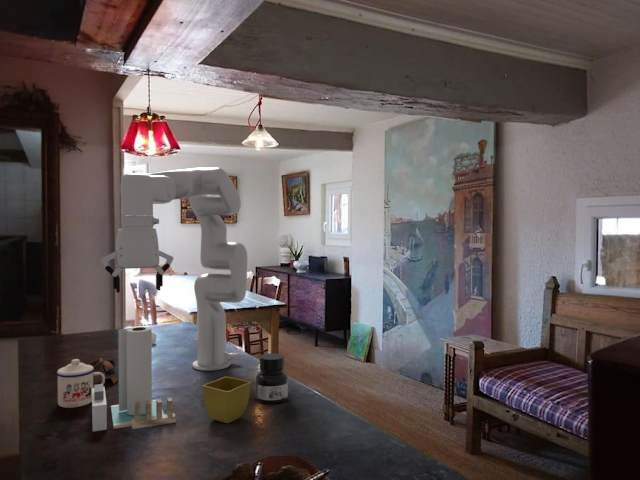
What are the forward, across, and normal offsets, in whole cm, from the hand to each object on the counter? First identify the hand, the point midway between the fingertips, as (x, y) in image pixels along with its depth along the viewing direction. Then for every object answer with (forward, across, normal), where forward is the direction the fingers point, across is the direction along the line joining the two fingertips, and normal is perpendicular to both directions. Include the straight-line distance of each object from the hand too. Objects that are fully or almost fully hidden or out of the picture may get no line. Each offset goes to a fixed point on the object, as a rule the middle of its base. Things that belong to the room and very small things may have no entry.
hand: (138, 290), depth 127 cm
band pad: (+32, +1, +1) cm, 32 cm away
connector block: (+31, +10, +1) cm, 33 cm away
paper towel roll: (+31, +1, 0) cm, 31 cm away
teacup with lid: (+32, +14, -15) cm, 38 cm away
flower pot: (+32, -19, +13) cm, 39 cm away
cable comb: (+31, -2, +9) cm, 33 cm away
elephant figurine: (+33, -10, -76) cm, 84 cm away
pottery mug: (+32, +8, -32) cm, 46 cm away
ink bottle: (+32, -34, +4) cm, 47 cm away
